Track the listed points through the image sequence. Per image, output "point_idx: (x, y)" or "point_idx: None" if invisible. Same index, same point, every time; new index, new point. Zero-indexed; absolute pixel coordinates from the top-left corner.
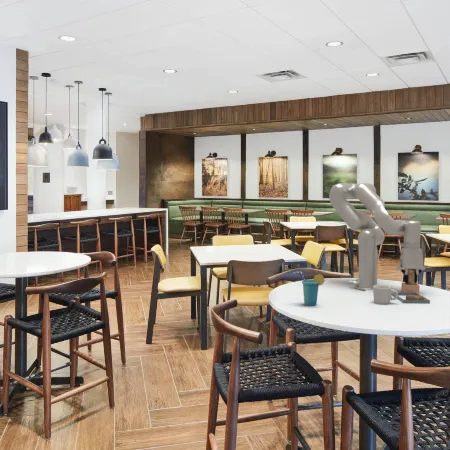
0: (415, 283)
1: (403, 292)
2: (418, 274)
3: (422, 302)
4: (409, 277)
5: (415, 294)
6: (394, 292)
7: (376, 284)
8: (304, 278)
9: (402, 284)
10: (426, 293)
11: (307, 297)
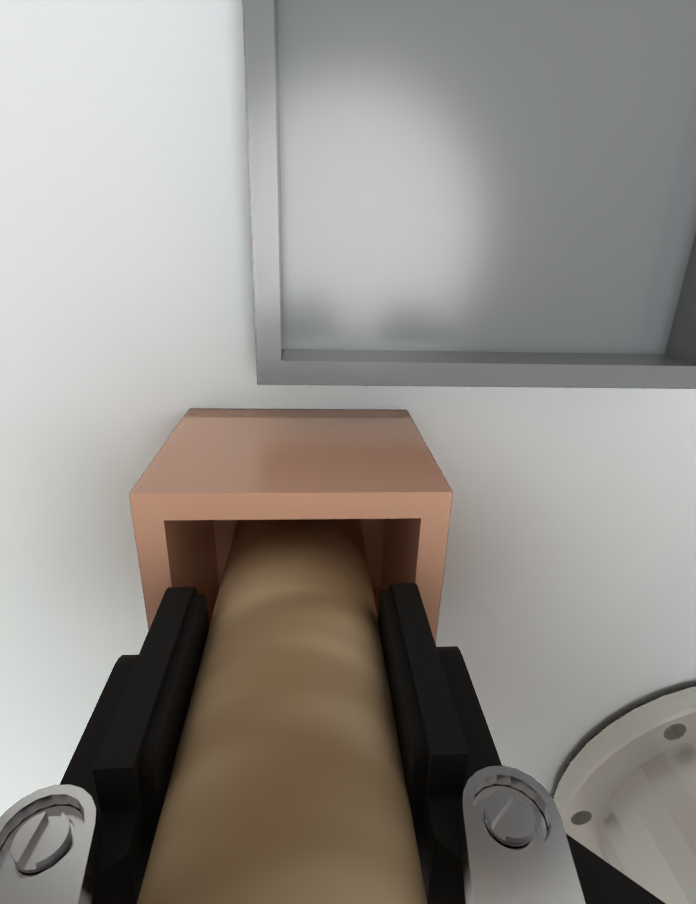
0: None
1: (498, 376)
2: (16, 811)
3: None
4: (364, 695)
5: (282, 332)
6: (666, 372)
7: (663, 806)
8: None
9: None
10: (14, 594)
11: None
